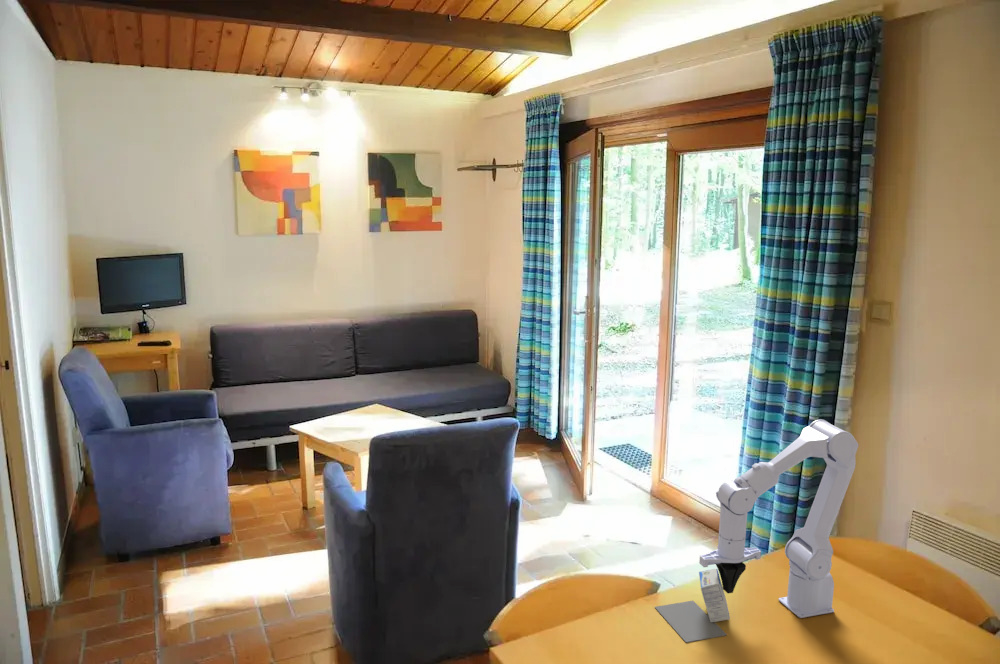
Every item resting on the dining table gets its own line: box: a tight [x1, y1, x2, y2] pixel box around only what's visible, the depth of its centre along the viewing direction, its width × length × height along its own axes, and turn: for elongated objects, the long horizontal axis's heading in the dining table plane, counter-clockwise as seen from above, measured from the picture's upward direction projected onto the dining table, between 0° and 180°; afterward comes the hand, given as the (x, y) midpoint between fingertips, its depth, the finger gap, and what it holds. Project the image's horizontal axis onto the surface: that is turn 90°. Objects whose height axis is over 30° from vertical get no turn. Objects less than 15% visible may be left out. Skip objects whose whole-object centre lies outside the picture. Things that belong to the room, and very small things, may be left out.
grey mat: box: [654, 600, 728, 644], centre depth 165 cm, size 10×14×1 cm
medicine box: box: [698, 568, 731, 623], centre depth 166 cm, size 8×4×9 cm, turn 169°
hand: (727, 590), depth 166 cm, fingers closed
